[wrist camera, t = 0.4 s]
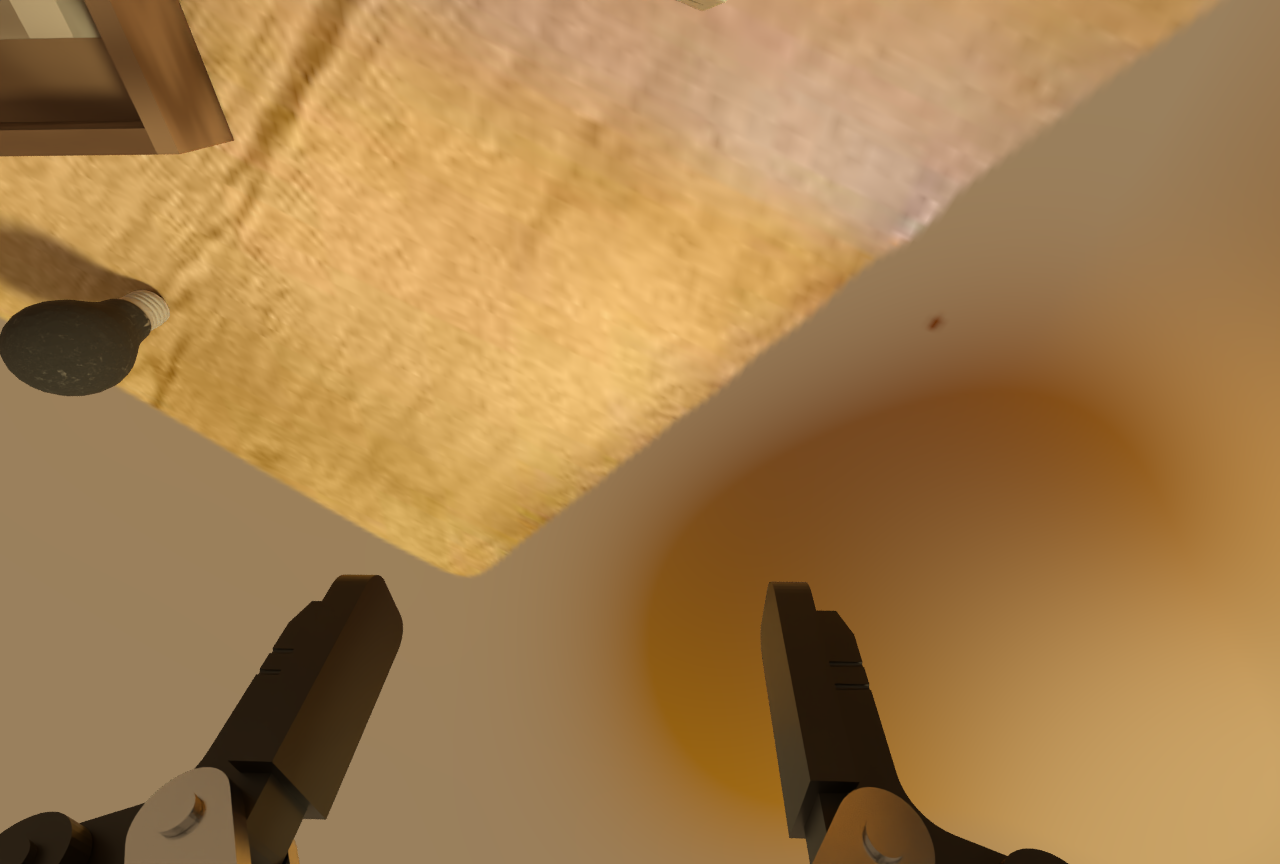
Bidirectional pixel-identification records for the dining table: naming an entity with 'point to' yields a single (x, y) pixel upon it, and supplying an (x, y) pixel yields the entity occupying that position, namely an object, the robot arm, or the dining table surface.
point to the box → (103, 80)
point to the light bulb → (79, 341)
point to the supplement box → (702, 3)
